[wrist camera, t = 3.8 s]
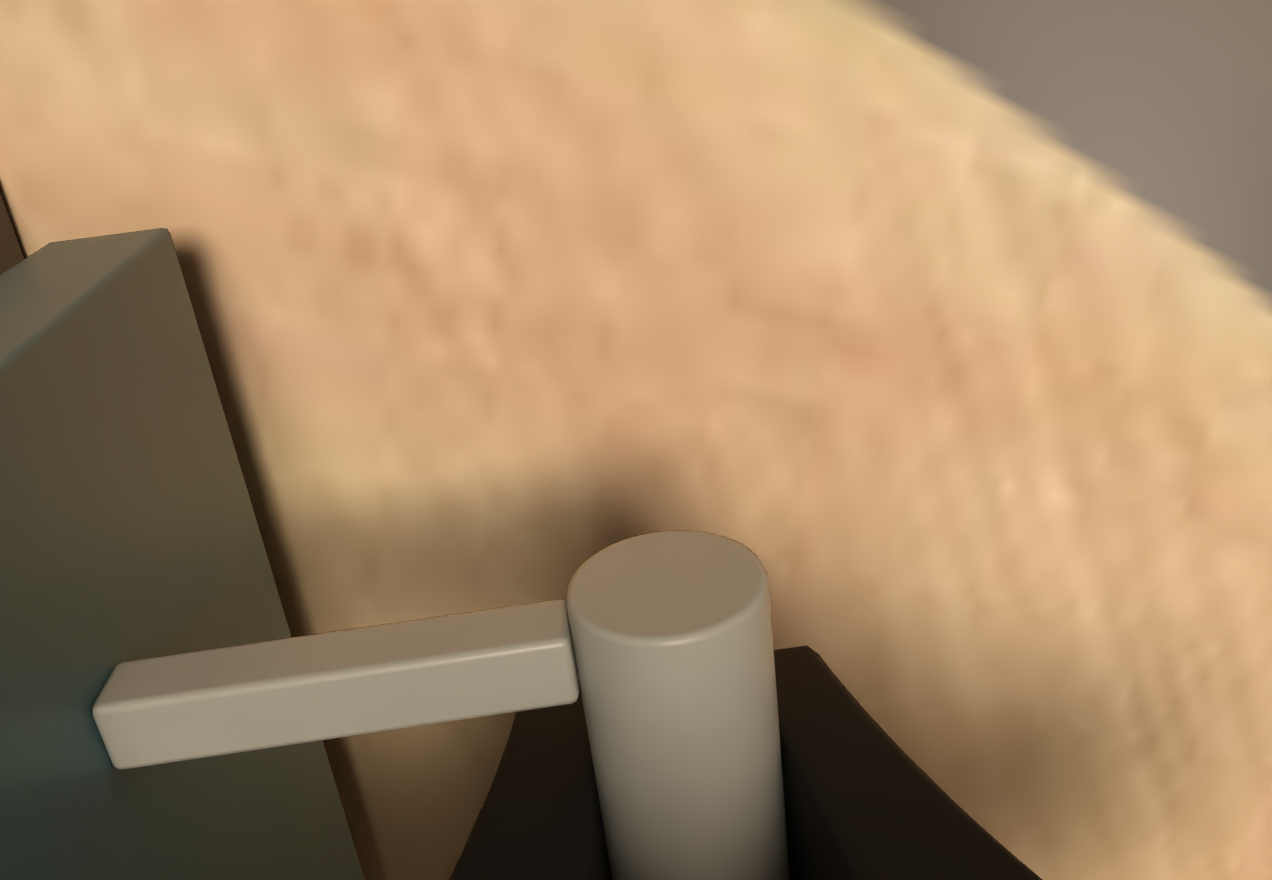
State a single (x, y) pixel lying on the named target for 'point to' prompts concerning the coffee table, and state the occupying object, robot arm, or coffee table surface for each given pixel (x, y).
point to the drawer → (313, 664)
